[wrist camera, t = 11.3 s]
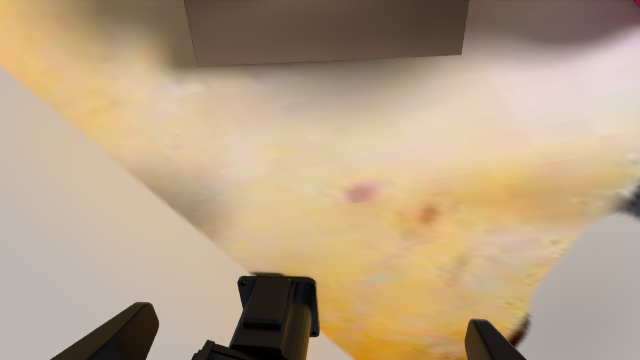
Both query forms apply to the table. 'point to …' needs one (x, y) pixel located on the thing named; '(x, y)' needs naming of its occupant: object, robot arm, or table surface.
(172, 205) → the table surface
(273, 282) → the robot arm
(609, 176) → the table surface
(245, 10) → the socket block
